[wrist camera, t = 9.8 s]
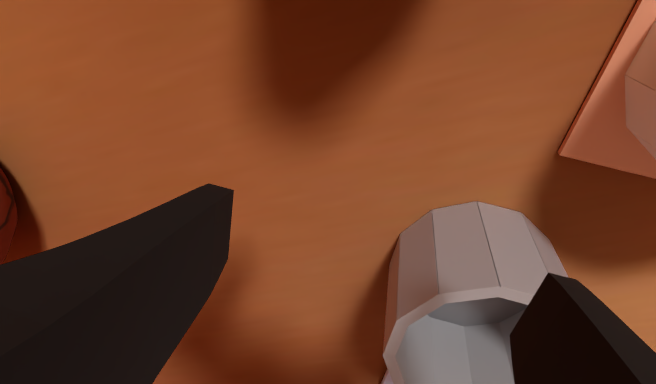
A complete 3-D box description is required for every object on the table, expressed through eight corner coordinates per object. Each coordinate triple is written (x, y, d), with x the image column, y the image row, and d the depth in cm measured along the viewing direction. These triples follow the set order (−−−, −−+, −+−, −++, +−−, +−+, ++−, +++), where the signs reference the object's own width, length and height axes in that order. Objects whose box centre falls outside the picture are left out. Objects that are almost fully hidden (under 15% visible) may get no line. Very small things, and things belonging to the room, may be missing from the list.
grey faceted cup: (512, 340, 23) (541, 446, 18) (376, 302, 24) (366, 396, 19) (583, 228, 19) (645, 324, 14) (416, 185, 20) (418, 264, 15)
